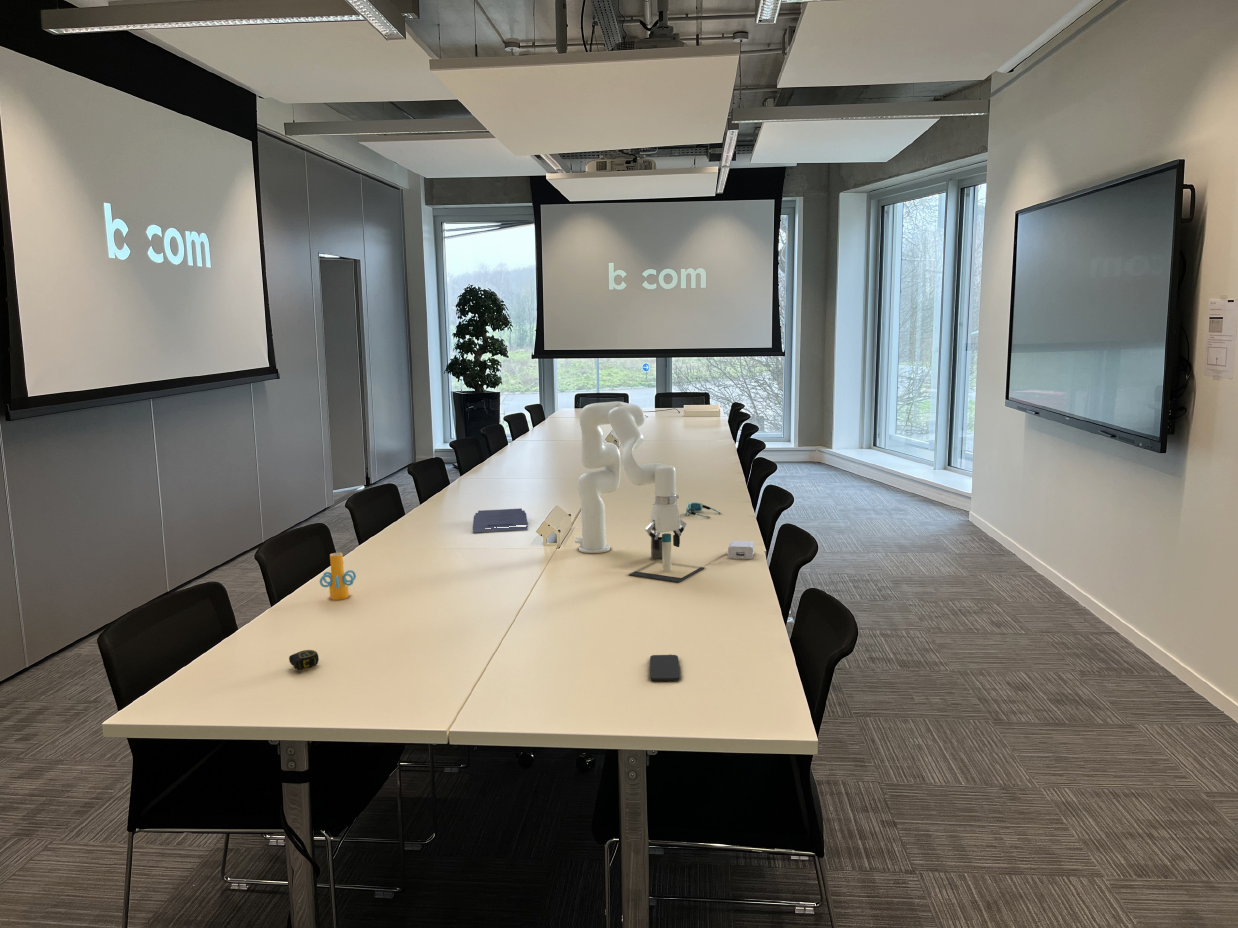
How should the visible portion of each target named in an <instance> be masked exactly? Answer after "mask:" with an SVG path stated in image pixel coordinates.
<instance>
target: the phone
mask: <svg viewBox="0 0 1238 928" xmlns="http://www.w3.org/2000/svg"><path fill="white" fill-rule="evenodd" d="M649 671H650V672H649V673H650V674H649V678H650V680H651V681H652V682H677V681H680V679H681V678H680V677H681V676H680V674H681V673H680V664H679V656H678V655H677V654H652V655H651V656H650V657H649Z"/></svg>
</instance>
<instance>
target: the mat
mask: <svg viewBox="0 0 1238 928" xmlns="http://www.w3.org/2000/svg"><path fill="white" fill-rule="evenodd" d="M704 569H705V567H704V566H700V567H698V568H696V569H695V570H693V571H691V572H689V573H687V574H686V575H684V576H682V577H677V576H672V575H671V576H670V575H663V574H657V573H650V572H643V571H636V570H635V571H633V572H630V573H628V576H630V577H637V578H644V579H651V580H658V581H664V582H670V583H675V584H678V583H681V582H683V581H685V580H686V579H688V578H691V577H692V576H693V575H696V574H697V573H699V572H701V571H702V570H704Z"/></svg>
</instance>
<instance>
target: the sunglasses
mask: <svg viewBox="0 0 1238 928" xmlns="http://www.w3.org/2000/svg"><path fill="white" fill-rule="evenodd" d="M703 509H705V510H708V511H710V510H712V511H714V512H716V513H717V514H719V515H721V514H722V513H721V512H720V511H718V510H717V509H715V508H713V507H711V506H709V505H705V504H704V503H701V502H695V501H693V502H688V503H687V504H686V509H685V513H686V514H685V515H686V516H689V514H690V515H692V516H698V517H702V518H707V519H710V518H711V516H708V515H703V514H700V513H698V512H701V511H702V510H703Z"/></svg>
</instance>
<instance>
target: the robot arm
mask: <svg viewBox="0 0 1238 928" xmlns="http://www.w3.org/2000/svg"><path fill="white" fill-rule="evenodd" d="M645 419H646V417H645V412H644V410H643V409H642V407H640V406H639V405H637V404H634V403H629V402H624V401H606V402H605V401H604V402H594V403H590V404H587V405H585V406H584V407H582V409H581V410H580V413H579V427H580V430H581V462H582V465H583V467H584V468H586V469H593V471H587V472H584V473H582V474H581V475H580V476H579V477H578V479H577V488H578V492H579V498H580V499H579V500H580V513H581V537H575V540H574V543H575V544H579V546H578V551H579V552H581V553H583V554H601V553H606V552H608V551H610V550H611V546H610V544H607V529H606V527H607V526H606V524H607V523H606V505H605V502H604V500H603V499H602V497H601V496H602V495H605V494H606V495H607V494H612V493H614V492H616V491H618V489H619V488H620V484H621V466H622V468H623V471H624V472H625V475H626V477H627V478H628V479H629V481H630V482H631V483H632V484H634V485H635V486H646V485H653V484H654V503H653V504H652V507H651V514H650V523H649V524H648V525H647V526H646V527H645V529H644V530H645V532H646V534H647V535H648V536H649V538H650V539H651V538H652V539H653V549H655V550H657V551H658V550H659V540H658V537H660V535H661V534H664V533H669V532H673V535H672V541H673V543H672V546H674V547H676V548H680V544H681V537H682V533H683V532H684V530H685V528H686V526H687V523H686V522H685V521H684V520H682V519H681V515H680V513H681V512H680V508H679V504H678V502H677V500H679V498H680V496H679V494H677V472H676V471H677V470H676V467H675V466H674V465H670V464H664V463H662V462H658V461H653V462H647V463H646V462H645V463H640V464H639V463H638V462H637V460H636V458H635V455H634V451H635V450H636V449H638V448H639V447H640V446H641V445H642V444H643V443H644V440H645V438H644V435H643V433H642V431H641V430H640V428H639V427H642V426H643V425H644V424H645ZM604 425H610V427H611V428H612V430H613V432H614V434H615V435H616V437H617V439H618V441H619V443H620V444H621V446H622V451H621V453H620V449H619V447H618V446H617V445H616V443H613V442H604V439H605V437H604V431H603V429H602V427H601V426H604ZM600 468H603V469H600ZM594 469H600V470H594Z"/></svg>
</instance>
